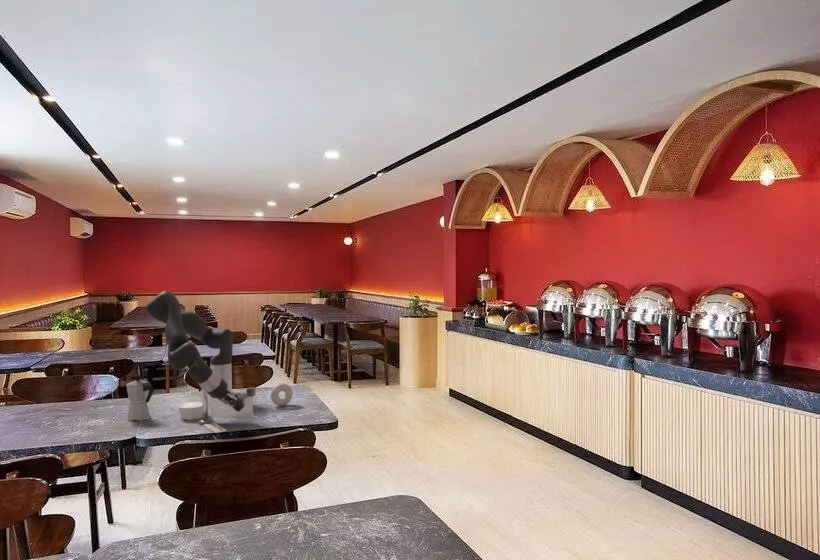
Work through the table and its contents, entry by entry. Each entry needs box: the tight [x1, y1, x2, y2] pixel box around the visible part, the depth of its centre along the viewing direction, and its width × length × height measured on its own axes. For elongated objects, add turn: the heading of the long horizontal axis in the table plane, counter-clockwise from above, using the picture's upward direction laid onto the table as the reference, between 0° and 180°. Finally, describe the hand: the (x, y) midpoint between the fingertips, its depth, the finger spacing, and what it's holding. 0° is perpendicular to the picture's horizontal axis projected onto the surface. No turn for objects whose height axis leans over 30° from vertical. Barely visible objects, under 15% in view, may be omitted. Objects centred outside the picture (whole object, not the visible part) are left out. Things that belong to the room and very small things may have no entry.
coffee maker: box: [125, 374, 155, 421], centre depth 240 cm, size 15×9×18 cm, turn 65°
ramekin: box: [177, 401, 202, 421], centre depth 242 cm, size 11×11×5 cm
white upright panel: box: [201, 386, 256, 420], centre depth 232 cm, size 21×3×13 cm, turn 87°
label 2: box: [209, 426, 227, 434], centre depth 222 cm, size 6×4×1 cm, turn 38°
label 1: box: [203, 422, 221, 430], centre depth 227 cm, size 6×4×1 cm, turn 38°
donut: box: [270, 383, 294, 407], centre depth 259 cm, size 10×4×10 cm, turn 125°
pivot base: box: [197, 417, 215, 426], centre depth 233 cm, size 6×6×1 cm
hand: (239, 409), depth 231 cm, fingers closed
